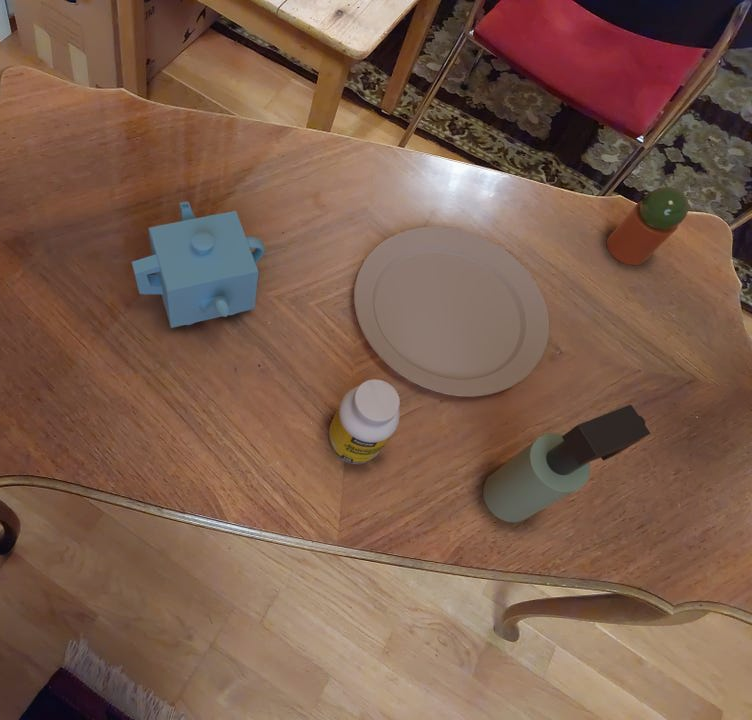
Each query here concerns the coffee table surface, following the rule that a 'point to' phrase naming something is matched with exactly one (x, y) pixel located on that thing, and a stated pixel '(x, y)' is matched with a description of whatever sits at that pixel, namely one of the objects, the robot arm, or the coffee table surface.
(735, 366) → the coffee table surface
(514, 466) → the spray bottle
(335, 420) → the pill bottle
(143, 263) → the teapot
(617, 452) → the trigger
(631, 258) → the plant pot
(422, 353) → the plate
